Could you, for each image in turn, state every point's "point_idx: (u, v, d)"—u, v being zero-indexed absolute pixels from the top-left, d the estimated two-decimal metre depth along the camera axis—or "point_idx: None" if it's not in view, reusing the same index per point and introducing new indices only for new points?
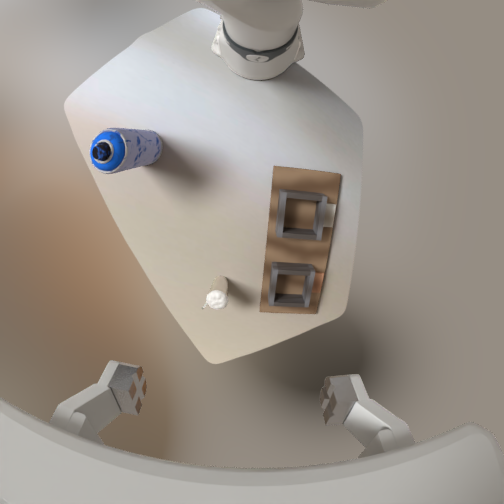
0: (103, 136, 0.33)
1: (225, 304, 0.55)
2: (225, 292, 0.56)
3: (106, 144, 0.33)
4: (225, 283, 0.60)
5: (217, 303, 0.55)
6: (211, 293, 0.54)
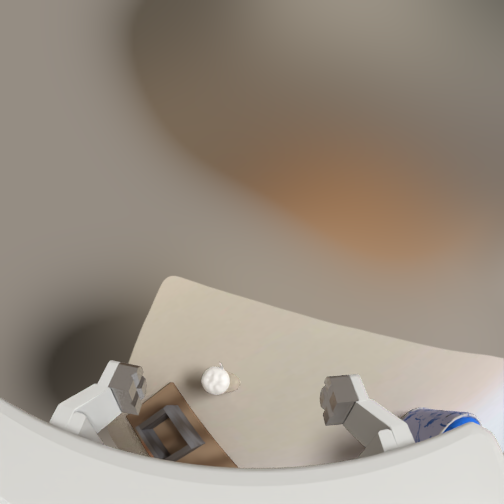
0: None
1: (203, 384, 0.37)
2: None
3: None
4: None
5: (211, 380, 0.37)
6: (226, 384, 0.37)
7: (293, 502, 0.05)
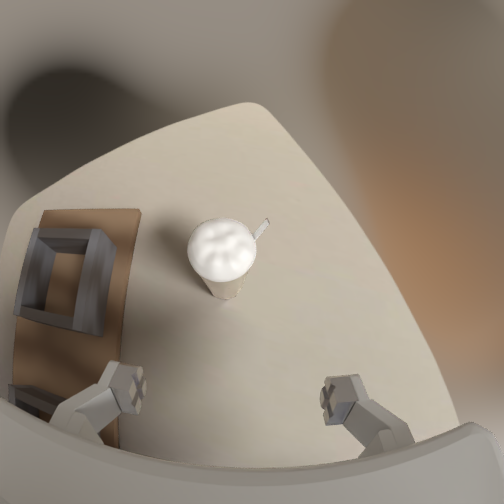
0: None
1: (194, 235, 0.17)
2: None
3: None
4: (207, 286, 0.22)
5: (218, 239, 0.17)
6: (237, 272, 0.17)
7: (293, 502, 0.05)
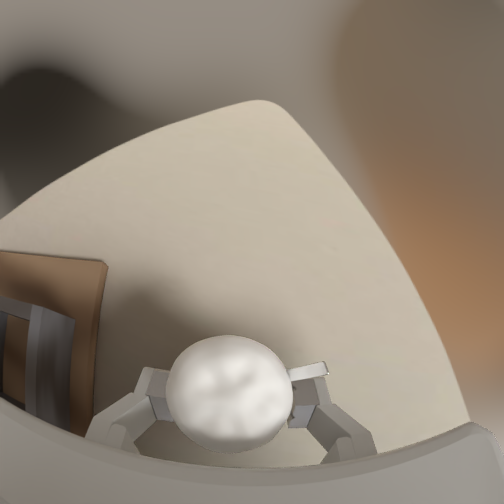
0: None
1: (177, 378, 0.08)
2: None
3: None
4: None
5: (224, 394, 0.08)
6: (260, 444, 0.08)
7: (293, 502, 0.05)
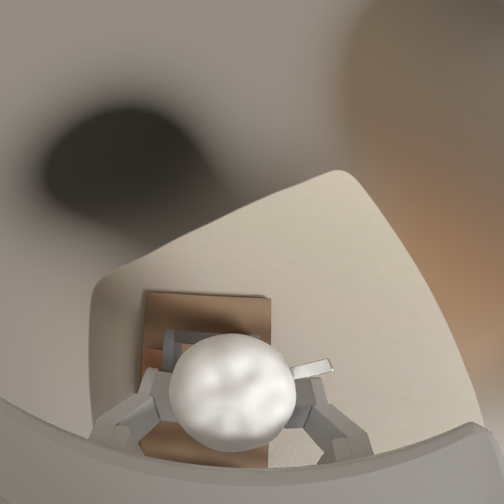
0: None
1: (181, 377, 0.08)
2: None
3: None
4: None
5: (229, 393, 0.08)
6: (264, 442, 0.08)
7: (293, 502, 0.05)
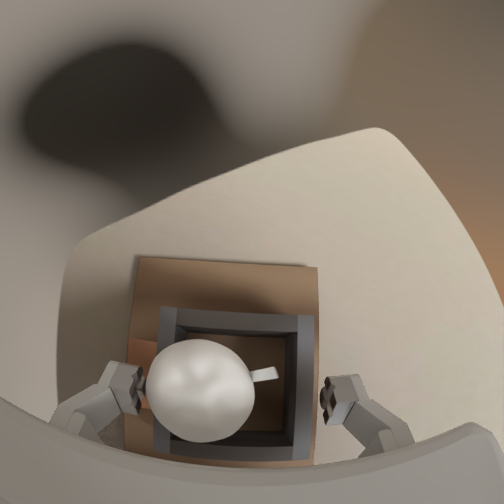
0: None
1: (153, 374, 0.09)
2: None
3: None
4: None
5: (191, 390, 0.09)
6: (224, 436, 0.09)
7: (293, 502, 0.05)
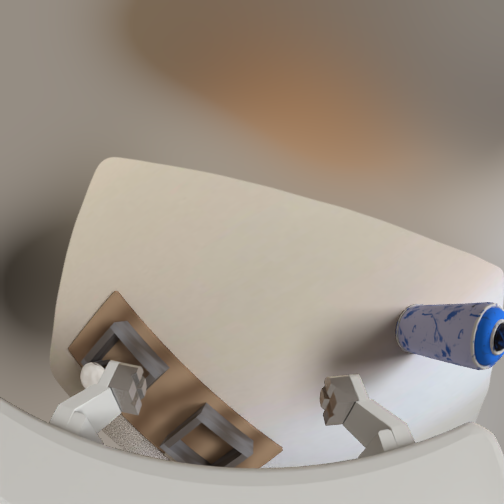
0: None
1: (83, 385, 0.25)
2: None
3: (502, 349, 0.17)
4: None
5: (89, 381, 0.25)
6: None
7: (293, 502, 0.05)
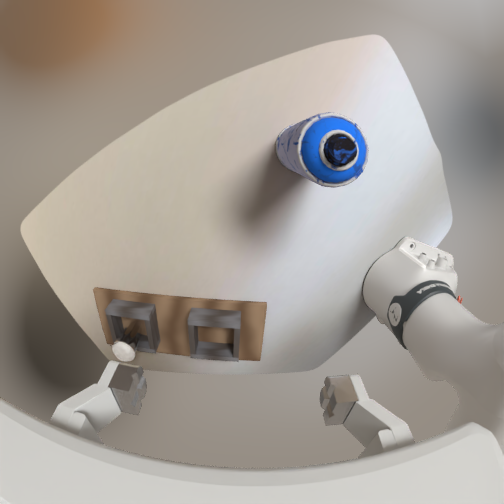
0: (362, 152, 0.22)
1: None
2: None
3: (350, 160, 0.22)
4: None
5: (120, 355, 0.41)
6: (129, 350, 0.42)
7: (293, 502, 0.05)
